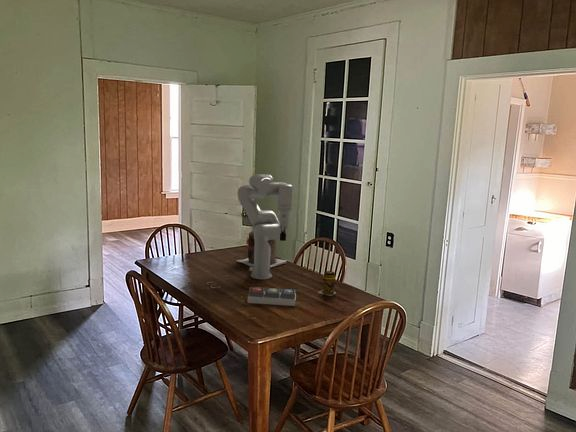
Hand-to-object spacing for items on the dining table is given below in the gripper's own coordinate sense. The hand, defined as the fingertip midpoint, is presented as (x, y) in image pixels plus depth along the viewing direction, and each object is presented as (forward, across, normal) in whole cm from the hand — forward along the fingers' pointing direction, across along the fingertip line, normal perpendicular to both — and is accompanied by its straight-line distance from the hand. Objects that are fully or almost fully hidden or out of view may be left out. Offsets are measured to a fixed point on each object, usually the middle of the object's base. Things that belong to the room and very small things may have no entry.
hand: (282, 240), depth 260 cm
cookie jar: (+27, +48, +15) cm, 57 cm away
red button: (+23, -21, +11) cm, 34 cm away
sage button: (+23, -21, +3) cm, 32 cm away
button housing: (+27, -21, +3) cm, 35 cm away
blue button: (+23, -21, -5) cm, 32 cm away
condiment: (+27, -3, -26) cm, 38 cm away
